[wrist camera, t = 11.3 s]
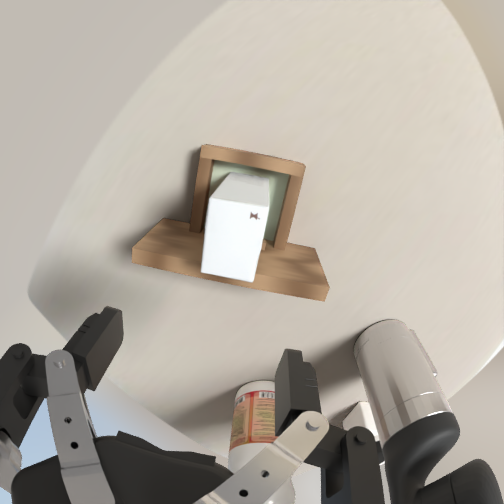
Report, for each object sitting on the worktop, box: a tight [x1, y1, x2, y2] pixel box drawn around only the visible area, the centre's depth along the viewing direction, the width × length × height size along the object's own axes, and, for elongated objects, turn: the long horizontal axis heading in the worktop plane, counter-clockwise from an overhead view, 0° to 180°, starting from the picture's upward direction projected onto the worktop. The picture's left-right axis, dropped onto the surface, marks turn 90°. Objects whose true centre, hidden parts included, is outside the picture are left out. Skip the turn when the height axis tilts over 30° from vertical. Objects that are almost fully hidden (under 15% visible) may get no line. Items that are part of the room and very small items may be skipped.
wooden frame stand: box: [132, 144, 330, 301], centre depth 27 cm, size 18×11×9 cm, turn 79°
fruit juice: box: [228, 381, 295, 504], centre depth 32 cm, size 9×9×28 cm
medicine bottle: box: [342, 402, 385, 465], centre depth 41 cm, size 7×7×12 cm
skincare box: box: [201, 172, 270, 282], centre depth 26 cm, size 6×4×12 cm
